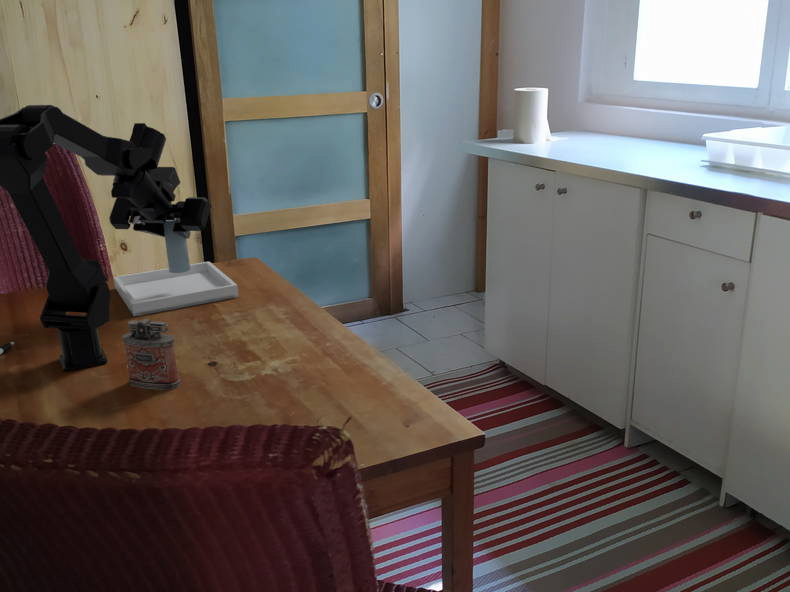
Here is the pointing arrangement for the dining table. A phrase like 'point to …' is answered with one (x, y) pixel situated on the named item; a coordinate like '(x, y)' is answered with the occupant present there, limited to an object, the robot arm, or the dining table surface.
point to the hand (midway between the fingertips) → (178, 236)
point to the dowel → (176, 249)
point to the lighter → (151, 356)
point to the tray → (174, 288)
